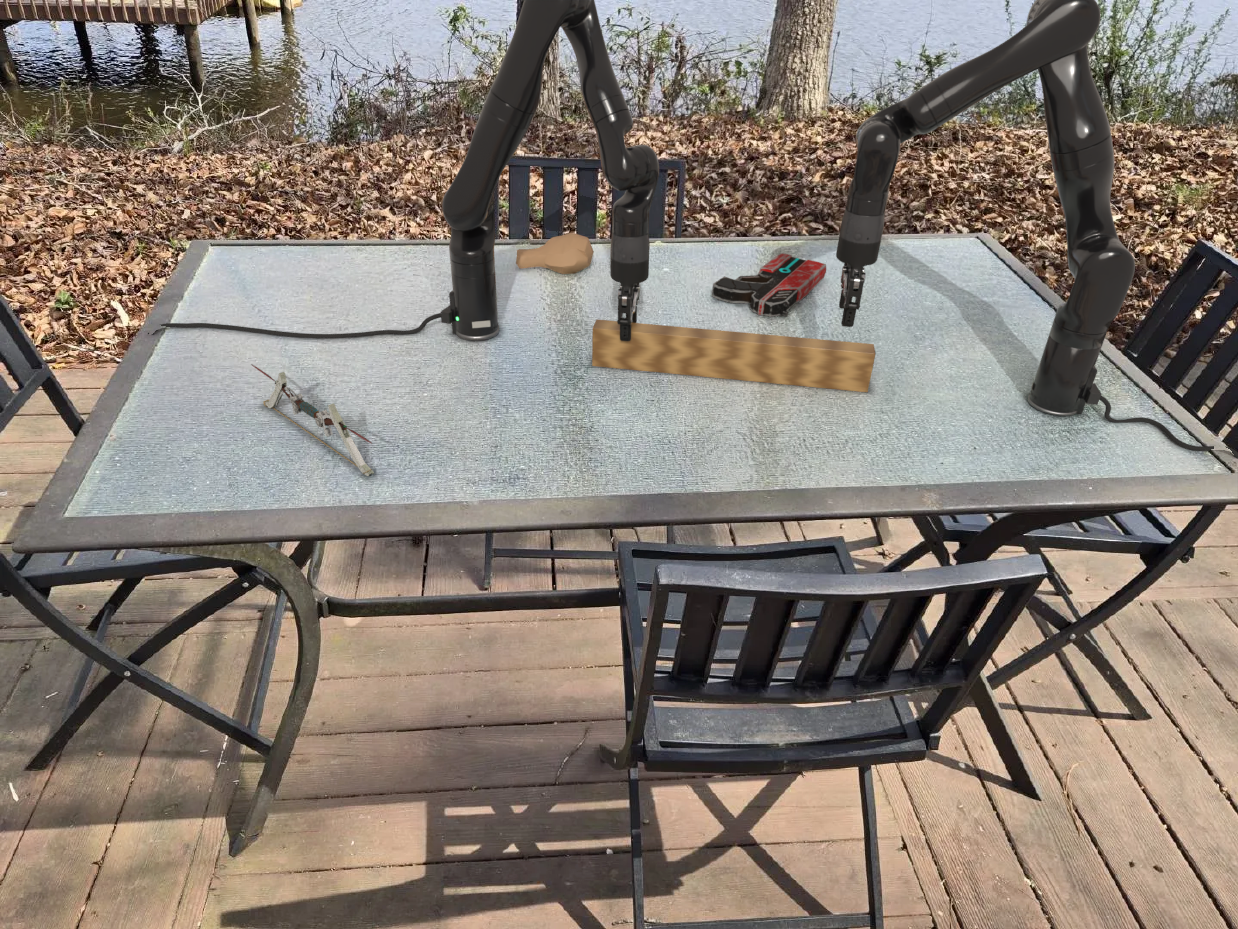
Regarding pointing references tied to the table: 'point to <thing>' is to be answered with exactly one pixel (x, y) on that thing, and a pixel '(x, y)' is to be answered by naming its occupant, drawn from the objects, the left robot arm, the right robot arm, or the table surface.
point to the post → (735, 355)
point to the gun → (772, 285)
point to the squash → (559, 254)
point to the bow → (318, 419)
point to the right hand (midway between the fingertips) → (845, 316)
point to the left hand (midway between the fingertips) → (628, 331)
